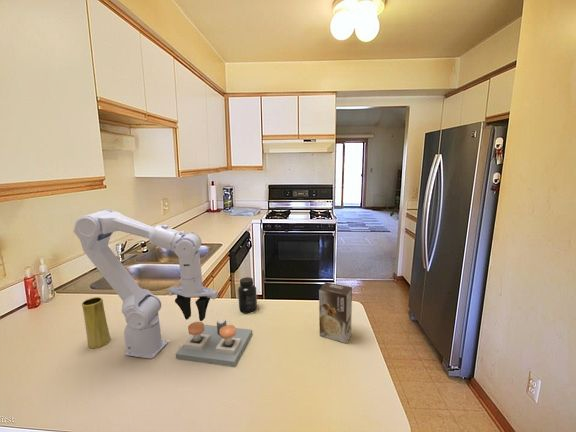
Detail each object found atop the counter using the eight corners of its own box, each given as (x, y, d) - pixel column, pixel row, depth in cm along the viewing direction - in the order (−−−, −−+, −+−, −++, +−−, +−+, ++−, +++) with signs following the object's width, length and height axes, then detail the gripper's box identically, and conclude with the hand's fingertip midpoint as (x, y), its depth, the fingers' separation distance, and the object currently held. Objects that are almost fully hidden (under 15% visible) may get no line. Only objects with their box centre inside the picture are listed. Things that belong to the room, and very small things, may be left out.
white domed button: (215, 334, 91) (214, 323, 90) (219, 329, 94) (219, 318, 93) (224, 335, 90) (223, 324, 89) (228, 330, 93) (227, 318, 92)
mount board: (175, 358, 83) (174, 349, 82) (201, 328, 97) (200, 320, 96) (234, 366, 79) (234, 357, 78) (252, 334, 93) (251, 326, 93)
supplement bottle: (258, 305, 111) (257, 276, 109) (255, 314, 105) (253, 284, 102) (241, 304, 112) (239, 275, 110) (236, 313, 105) (234, 283, 103)
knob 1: (186, 343, 85) (184, 329, 84) (194, 333, 89) (193, 321, 88) (200, 344, 84) (199, 331, 83) (207, 335, 88) (206, 322, 87)
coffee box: (352, 332, 93) (353, 286, 90) (346, 344, 87) (347, 295, 84) (325, 325, 97) (325, 281, 94) (318, 336, 92) (318, 289, 88)
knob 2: (217, 347, 83) (216, 333, 82) (224, 337, 87) (223, 324, 86) (232, 348, 82) (231, 335, 81) (238, 339, 86) (237, 325, 85)
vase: (99, 349, 87) (92, 306, 84) (82, 347, 88) (74, 305, 85) (115, 337, 93) (108, 297, 90) (99, 335, 94) (92, 295, 91)
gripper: (220, 271, 85) (223, 313, 87) (176, 268, 87) (180, 309, 90) (209, 281, 78) (213, 326, 81) (162, 278, 81) (167, 321, 84)
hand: (195, 318), depth 85 cm, fingers open, 4 cm apart
